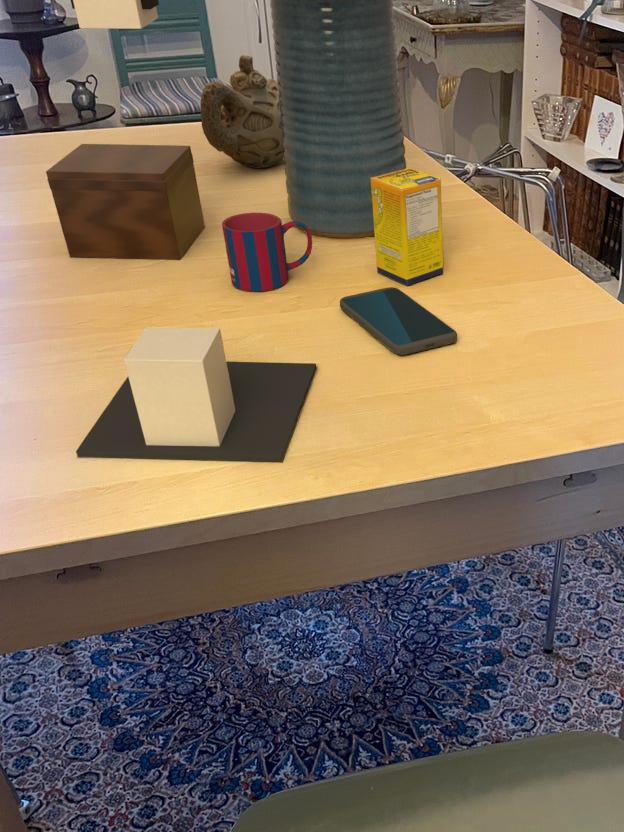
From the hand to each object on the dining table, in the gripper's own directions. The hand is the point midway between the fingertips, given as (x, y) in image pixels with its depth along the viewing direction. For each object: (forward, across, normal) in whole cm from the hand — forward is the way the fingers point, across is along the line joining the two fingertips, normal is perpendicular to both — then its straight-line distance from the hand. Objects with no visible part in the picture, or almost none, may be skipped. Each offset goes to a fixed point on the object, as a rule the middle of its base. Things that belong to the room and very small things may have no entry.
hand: (116, 5), depth 84 cm
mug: (+29, -8, -12) cm, 33 cm away
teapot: (+29, +3, -58) cm, 65 cm away
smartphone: (+29, -24, 0) cm, 38 cm away
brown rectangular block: (+29, +12, -24) cm, 40 cm away
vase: (+29, -14, -34) cm, 47 cm away
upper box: (+28, -7, +25) cm, 38 cm away
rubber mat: (+29, -7, +20) cm, 36 cm away
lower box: (+1, 0, 0) cm, 1 cm away
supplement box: (+29, -24, -15) cm, 41 cm away
